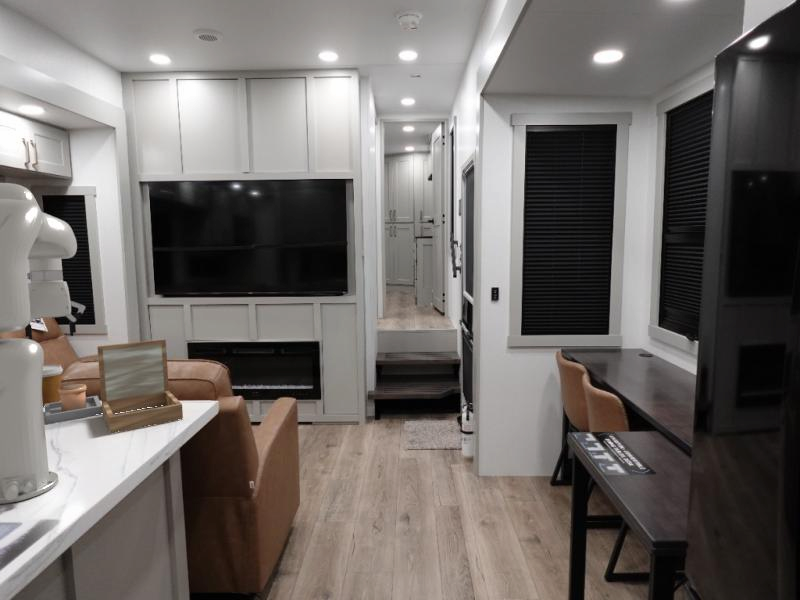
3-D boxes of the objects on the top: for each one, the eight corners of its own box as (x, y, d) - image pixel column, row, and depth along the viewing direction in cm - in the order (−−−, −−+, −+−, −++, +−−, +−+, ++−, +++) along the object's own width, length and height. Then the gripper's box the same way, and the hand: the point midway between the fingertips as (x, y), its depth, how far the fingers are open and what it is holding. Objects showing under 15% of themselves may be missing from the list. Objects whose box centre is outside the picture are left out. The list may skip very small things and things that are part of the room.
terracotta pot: (89, 410, 151) (87, 387, 151) (60, 415, 147) (58, 391, 146) (86, 404, 157) (85, 382, 156) (59, 409, 153) (57, 386, 152)
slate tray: (102, 414, 151) (102, 406, 150) (46, 424, 142) (45, 415, 142) (97, 403, 162) (97, 395, 162) (45, 411, 154) (44, 403, 153)
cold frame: (183, 419, 145) (178, 348, 143) (110, 433, 134) (104, 356, 132) (168, 403, 160) (164, 339, 158) (102, 415, 149) (97, 346, 147)
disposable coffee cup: (73, 400, 165) (70, 365, 163) (45, 409, 156) (42, 372, 154) (50, 398, 167) (47, 363, 166) (22, 407, 158) (19, 370, 157)
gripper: (7, 278, 132) (12, 342, 134) (83, 276, 142) (88, 335, 144) (8, 278, 139) (13, 339, 140) (82, 275, 149) (86, 332, 150)
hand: (51, 337), depth 142 cm, fingers open, 9 cm apart
